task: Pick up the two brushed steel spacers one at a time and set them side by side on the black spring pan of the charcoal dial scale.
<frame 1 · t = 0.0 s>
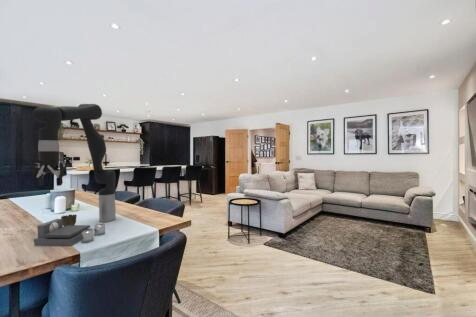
hand: (50, 185, 110), 29 cm above the table, tool pointing down, fingers open, 8 cm apart
scale base: (65, 239, 122), on the table
steel spacer 2: (87, 241, 119), on the table
steel spacer 1: (99, 234, 129), on the table
cup: (69, 229, 138), on the table
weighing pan: (68, 231, 122), point 4 cm above the table, slide at 0.7 cm
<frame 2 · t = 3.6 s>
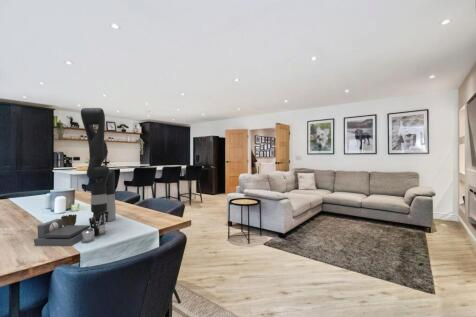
hand: (99, 233, 129), 0 cm above the table, tool pointing down, fingers closed on steel spacer 1, 5 cm apart
steel spacer 1: (99, 234, 129), on the table, touching gripper
everything else where it was.
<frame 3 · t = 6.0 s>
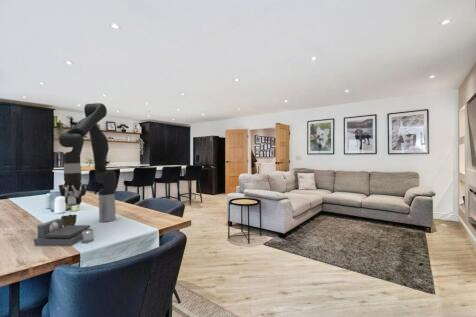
hand: (73, 204, 125), 17 cm above the table, tool pointing down, fingers closed on steel spacer 1, 5 cm apart
steel spacer 1: (73, 205, 125), point 17 cm above the table, touching gripper
everything else where it was.
when the fingers open (7 cm above the table, at t = 8.4 s): steel spacer 1 drops 2 cm, resting on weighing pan.
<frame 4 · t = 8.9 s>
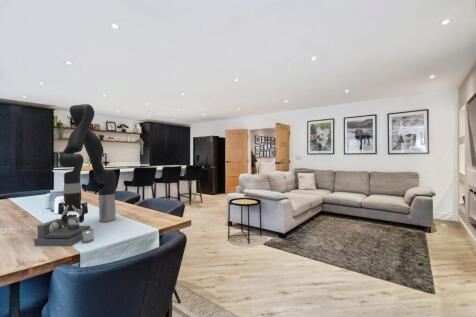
hand: (73, 222, 125), 8 cm above the table, tool pointing down, fingers open, 8 cm apart
steel spacer 1: (73, 227, 126), point 5 cm above the table, touching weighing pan
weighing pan: (68, 231, 122), point 4 cm above the table, slide at 1.0 cm, touching steel spacer 1
everything else where it was.
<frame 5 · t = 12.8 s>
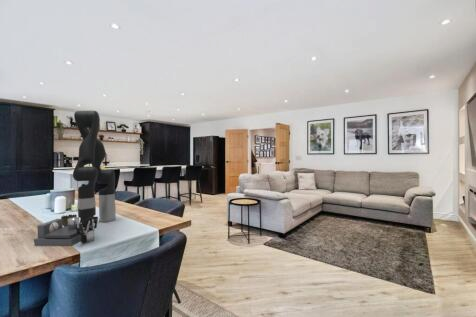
hand: (87, 240, 119), 0 cm above the table, tool pointing down, fingers closed on steel spacer 2, 5 cm apart
steel spacer 2: (87, 241, 119), on the table, touching gripper
everything else where it was.
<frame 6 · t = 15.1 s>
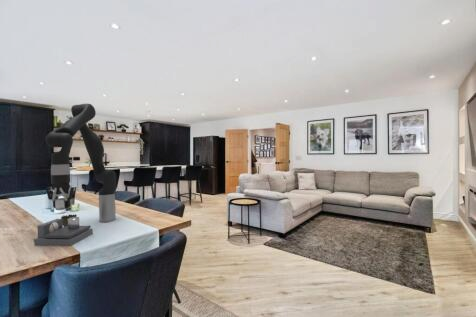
hand: (61, 207, 117), 17 cm above the table, tool pointing down, fingers closed on steel spacer 2, 5 cm apart
steel spacer 2: (61, 208, 117), point 17 cm above the table, touching gripper
everything else where it was.
when the fingers open (7 cm above the table, at t = 17.5 s): steel spacer 2 drops 2 cm, resting on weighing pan.
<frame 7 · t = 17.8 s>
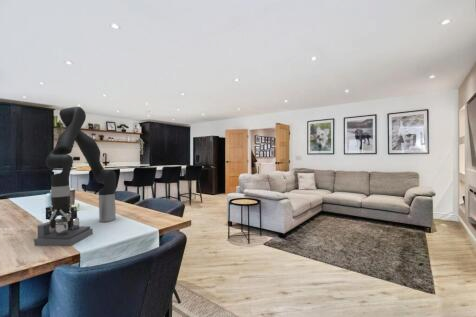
hand: (61, 227, 118), 7 cm above the table, tool pointing down, fingers open, 8 cm apart
steel spacer 2: (61, 233, 118), point 4 cm above the table, touching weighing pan
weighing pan: (68, 232, 122), point 4 cm above the table, slide at 1.4 cm, touching steel spacer 1, steel spacer 2
everything else where it was.
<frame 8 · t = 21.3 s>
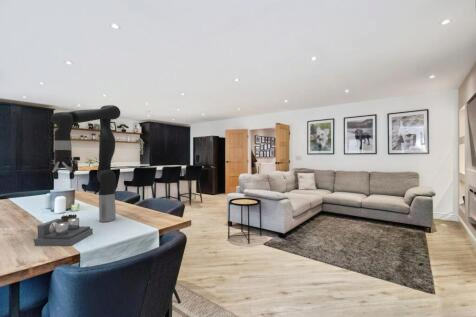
hand: (64, 179, 129), 30 cm above the table, tool pointing down, fingers open, 8 cm apart
nothing on the table moved.
at the end: steel spacer 1 inside the target area (4.0 cm from its centre), point 4.4 cm above the table; steel spacer 2 inside the target area (4.0 cm from its centre), point 4.4 cm above the table; the gripper is holding nothing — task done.
